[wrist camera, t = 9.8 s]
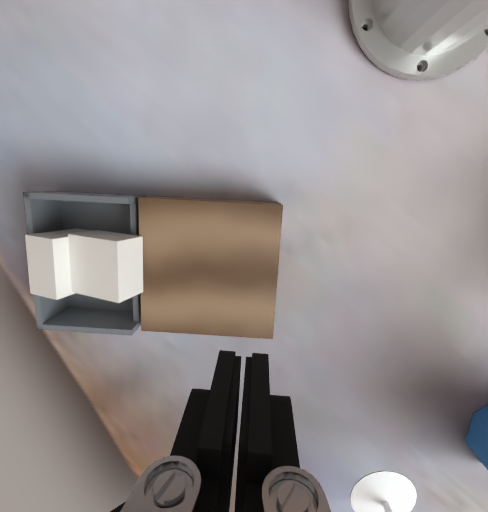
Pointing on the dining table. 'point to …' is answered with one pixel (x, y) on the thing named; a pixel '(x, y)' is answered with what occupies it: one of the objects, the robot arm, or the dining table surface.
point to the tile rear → (50, 263)
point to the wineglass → (383, 493)
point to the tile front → (106, 264)
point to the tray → (90, 218)
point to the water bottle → (479, 435)
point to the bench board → (209, 266)
